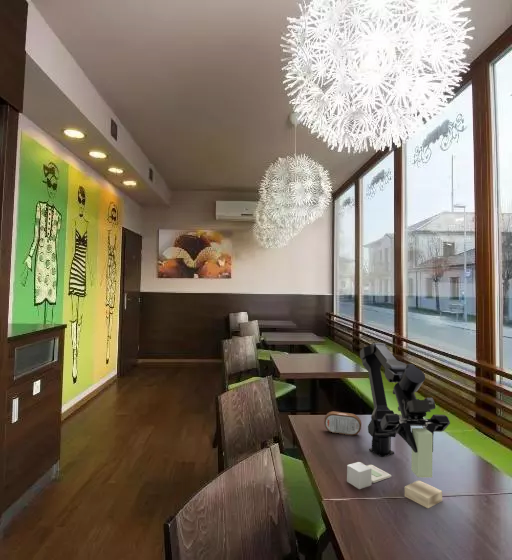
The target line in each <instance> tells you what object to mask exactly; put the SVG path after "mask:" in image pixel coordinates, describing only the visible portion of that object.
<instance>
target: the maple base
mask: <svg viewBox="0 0 512 560" xmlns="http://www.w3.org/2000/svg"><path fill="white" fill-rule="evenodd" d="M404 497H405V498H407V499H409V500H411V501H412V502H415V503H417V504H418V505H421V506H422V507H424V508H426V509H430V508H432V507H433V506H436V505H438V504H439V503H441V502H443V490H441V489H439V488H436V487H434V486H432V485H430V484H428V483H426V482H423V481H421V480H419V479H418V480H416V481H414V482H411V483H410V484H407V485H406V486H404Z"/></svg>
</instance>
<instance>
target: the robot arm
mask: <svg viewBox="0 0 512 560" xmlns="http://www.w3.org/2000/svg"><path fill="white" fill-rule="evenodd" d="M359 358H360V360H361V363H362V366H363V367H364V368H365V369H366V371H367V373H368V374H367V375H368V380H369V385H370V390H371V397H372V403H373V411H372V414H371V416H370V418H371V420H370V422H369V423H368V425H367V433H368V434H369V435H370V436H371V437H372V439H371V447H370V448H368V451H370V452H372V453H373V454H375V455H378V456H379V457H382V458H385V457H387V456H391V455H394V454H395V451H393V450H392V448H391V447H392V446H391V445H392V443H391V441H392V438H396V436H397V434H398V435H399V437H401V438H402V439H403V440H404V441H405V442H406V444H407V445H408V446H409V447H410V448H411V451H412V450H413V451H414V452H415V453H417V452H418V451H417V446H416V443H415V440H414V438H413V435H412V426H413V427H422V428H426V429H427V430H428V431H430V432H431V433H432V434H433V435H434V434H435V432H436V433H437V432H439V433H441V432H445V430H446V429H447V428H448V427H449V425H450V424H451V421H450V419H449V417H448V416H447V415H446V414H432V415H431V416H430V418H424V417H426V416H427V413H431V412H432V410H435V409H436V402H435V400H434V398H433V397H426V398H424V399H420V398H417V397H416V394H415V393H416V392H418V391H419V389H420V388H421V386H422V384H423V383H424V382H425V380H426V375H425V373H424V372H423V371H422V369H420V368H418V367H416V366H415V364H414V363H407V364H406V363H404V362H402V361H400V360H398V359H397V358H396V357H395V356H394V355H393V354H392V352H391V351H390V350H389V348H388V347H387V344H386V343H383V342H373V343H371V344H370V345H366V346H364V347H362V349H360V351H359ZM382 366H383V368H384V375H385V378H386V380H387V381H388V383H395V385H394V386H393V390H392V394H393V395H395V398H396V401H397V405H398V407H397V410H398V412H400V413H401V417H400V415H399V414H397V413H395V412H394V410H391V409H390V408H389V406H388V404H387V398H386V392H385V386H384V381H383V376H382V371H381V368H382ZM432 453H434V443H433V444H432Z"/></svg>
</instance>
